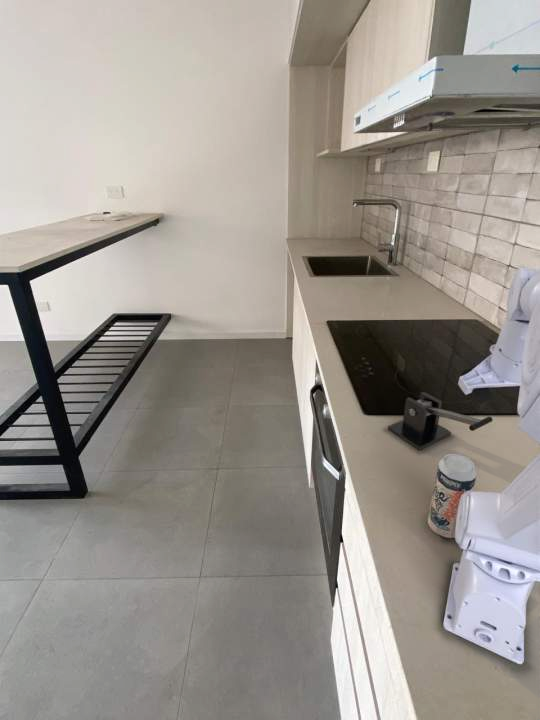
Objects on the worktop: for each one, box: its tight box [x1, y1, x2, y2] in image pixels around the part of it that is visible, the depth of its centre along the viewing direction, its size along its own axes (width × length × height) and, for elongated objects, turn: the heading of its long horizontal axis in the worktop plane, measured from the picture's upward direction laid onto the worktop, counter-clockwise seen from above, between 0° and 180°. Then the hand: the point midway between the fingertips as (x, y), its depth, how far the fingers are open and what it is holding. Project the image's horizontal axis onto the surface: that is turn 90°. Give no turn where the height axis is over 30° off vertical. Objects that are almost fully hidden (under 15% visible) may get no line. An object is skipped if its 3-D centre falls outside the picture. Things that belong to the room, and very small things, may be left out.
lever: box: [416, 398, 493, 432], centre depth 72 cm, size 14×5×2 cm, turn 30°
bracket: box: [387, 391, 452, 452], centre depth 78 cm, size 8×9×8 cm
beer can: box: [427, 453, 478, 539], centre depth 56 cm, size 5×5×12 cm
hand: (498, 397), depth 62 cm, fingers open, 7 cm apart
